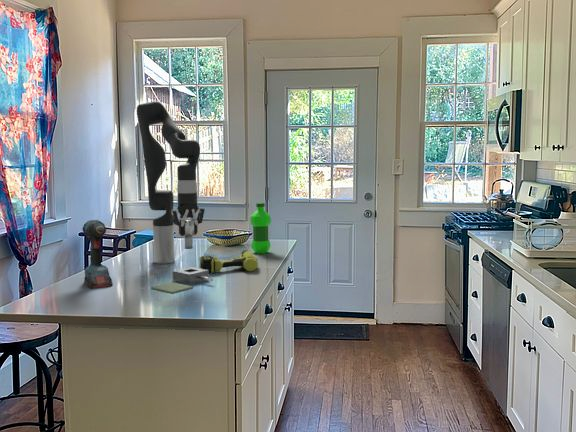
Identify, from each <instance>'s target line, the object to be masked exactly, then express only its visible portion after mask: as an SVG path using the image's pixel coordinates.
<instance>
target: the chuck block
mask: <svg viewBox="0 0 576 432" xmlns="http://www.w3.org/2000/svg"><path fill="white" fill-rule="evenodd" d="M209 275H210V274H209V270H205V269H200V267H192V266H191V267H185V268H182V269H181V268H180V269H177V270H172V282H174V283H179V284H184V285H188V286H192V285H194V284H198V283H204V282H206V281H209V282H213V281H214V278H213V277H210V276H209Z"/></svg>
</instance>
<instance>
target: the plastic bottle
mask: <svg viewBox="0 0 576 432" xmlns="http://www.w3.org/2000/svg"><path fill="white" fill-rule="evenodd" d="M255 206H256V208H257V209H256V210H255V211H254V212H253V213H252V214H251V216H250V224H251V226H252V231H253V232H252V233H253V235H252V237H253V239H252V241H251V249H252V250H253V252H255V254H258V253H263V254H266V253H267V252H269V251H270V249H271V242H270V240H269V226H270V225H271V222H272V218H271V215H270V214H269V212H267V211H265V210H264V207H265V206H266V204H265V202H256V204H255Z"/></svg>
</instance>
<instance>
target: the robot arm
mask: <svg viewBox="0 0 576 432" xmlns="http://www.w3.org/2000/svg"><path fill="white" fill-rule="evenodd" d="M136 117H137V122H138V127H139V132H140V136H141V142H142V143H141V144H142V152H143V153H142V154H143V162H144V167H145V174H146V179H147V191H148V192H147V194H148V195H147V196H148V205H149V208H150V210H151V211H165V213H164V214H163V215H161V216H158V217H155V218H153V220H152V229H153V230H152V231H153V233H152V234H153V235H152V236H153V237H152V238H153V241H152V243H151V244H152V262H154V264H159V265H161V264H163V265H164V264H172V263H174V262H175V258H176V257H175V232H174V231H175V229H174V226H177V227H178V234H179V235H180V237H185V235H184V223H185V221H186V220H187V219H188V218H189V220H194V235H193V236H196V235H197V234H198V233H199V231H198V225H200V224H202V223H203V219H204V215H205V212H206V211H205V208H202V207H199V206H198V183H197V167H198V162H199V157H200V152H201V146H200V144H199V142H198V141H197V140H196V139H187V137H186V135H185V133H184V132H183V131H182V130H181V129H180V128H179V127H178V126H177V125H176V123H175V122H174V121H173V119H172V117H171V115H170V114H169V112H168V111H167V109H166V107H165V106H164V104H162V102H160V101H158V100H154V101H153V100H152V101H150V102H144V103H140V104H138V105H137V106H136ZM160 123H162V126H161V135H162V137H163V139H164V140H165V141H166V142H167V144H168V145H169V146H170V149H171V152H172V155H173V156H174V157H175V158H177V159H187V160H186V162H185V163H183V164H179V166H177V190H176V192H177V205H178V206H177V207H176V209H174V201H175V199H174V194H173V193H174V192H173V191H172V190H170V189H169V190H168V189H167V190H166V189H161V190H160V189H158V190H157V189H156V186H157V184H158V182H159V180H160V178H161V176H162V174H163V173H164V171H165V170H166V168H167V160H166V152H165V149H164V148H163V146H162V145H161V144H160V143H159V141H158V140H156V138H155V137H154V135H152V132H151V130H150V126H152V125H157V124H160ZM178 213H179V214H178ZM196 214H197V215H196ZM178 215H179V217H178Z"/></svg>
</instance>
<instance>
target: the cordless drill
mask: <svg viewBox="0 0 576 432" xmlns="http://www.w3.org/2000/svg"><path fill="white" fill-rule="evenodd" d="M240 253H241V254H240V255H239V256H238V257H235V258H233V259H228V260H220V259H219V258H218V257H217V256H212V255H202V256H200V257H199V258H198V259H199V268H200V269H205V270H209V275H210V274H211V273H212V274H213V273H220V271H221V270H222V268H232V267H242V268H243V269H245V271H247V272H254V271H256V269H257V267H259V262H258V258H257V257H256V255H254V254H253V253H252V252H251V251H248V250H243V251H241V252H240Z"/></svg>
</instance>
